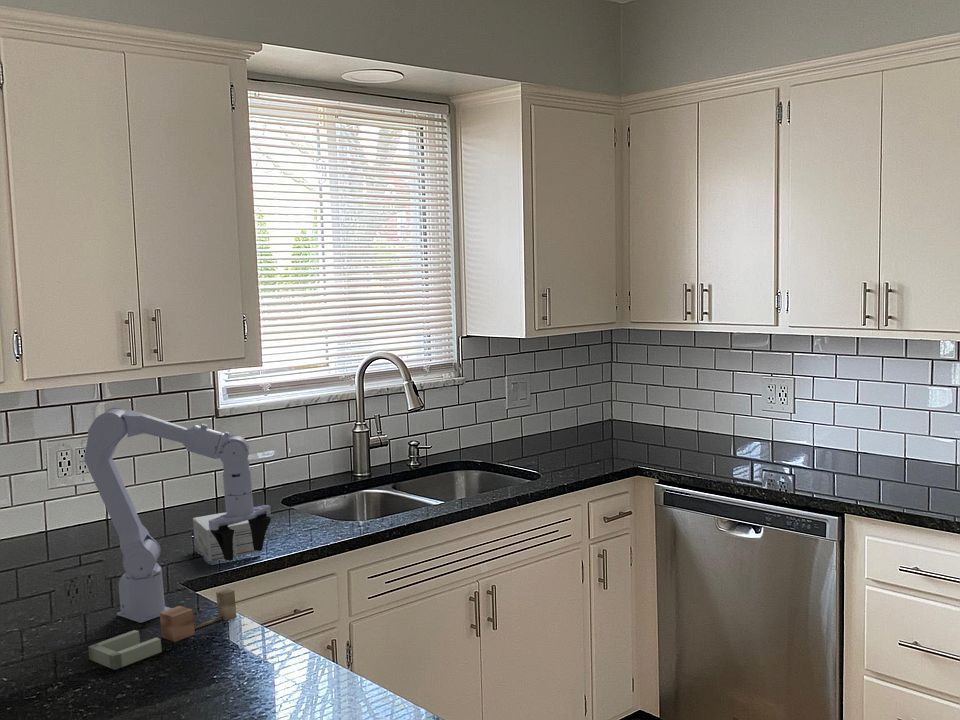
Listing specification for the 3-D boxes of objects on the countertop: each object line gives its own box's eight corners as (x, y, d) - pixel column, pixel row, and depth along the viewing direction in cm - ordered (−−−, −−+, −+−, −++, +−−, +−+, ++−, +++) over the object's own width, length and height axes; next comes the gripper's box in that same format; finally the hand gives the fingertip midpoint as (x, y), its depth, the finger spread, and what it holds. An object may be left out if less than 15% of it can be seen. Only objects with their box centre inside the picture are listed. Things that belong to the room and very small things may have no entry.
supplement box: (262, 557, 236) (259, 520, 235) (209, 567, 230) (206, 530, 229) (245, 542, 251) (242, 508, 250) (195, 552, 244) (192, 516, 244)
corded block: (161, 637, 184) (159, 610, 183) (226, 613, 195) (224, 587, 195) (174, 641, 181) (172, 614, 180) (239, 617, 192) (237, 591, 192)
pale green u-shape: (89, 659, 175) (88, 646, 174) (136, 642, 182) (134, 629, 182) (114, 669, 169) (113, 656, 169) (161, 651, 176) (160, 638, 176)
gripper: (220, 502, 191) (226, 566, 193) (277, 487, 202) (282, 548, 204) (200, 498, 196) (206, 562, 197) (257, 484, 207) (262, 544, 208)
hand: (243, 554), depth 201 cm, fingers open, 7 cm apart
